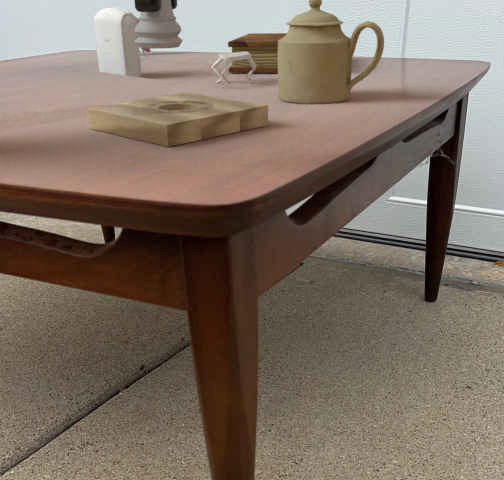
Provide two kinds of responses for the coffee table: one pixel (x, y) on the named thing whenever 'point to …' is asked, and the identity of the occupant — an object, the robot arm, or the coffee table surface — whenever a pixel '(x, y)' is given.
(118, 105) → the pad
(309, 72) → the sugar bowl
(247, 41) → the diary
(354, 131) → the coffee table surface
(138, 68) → the tombstone
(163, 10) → the rook chess piece
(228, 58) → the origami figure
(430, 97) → the coffee table surface
